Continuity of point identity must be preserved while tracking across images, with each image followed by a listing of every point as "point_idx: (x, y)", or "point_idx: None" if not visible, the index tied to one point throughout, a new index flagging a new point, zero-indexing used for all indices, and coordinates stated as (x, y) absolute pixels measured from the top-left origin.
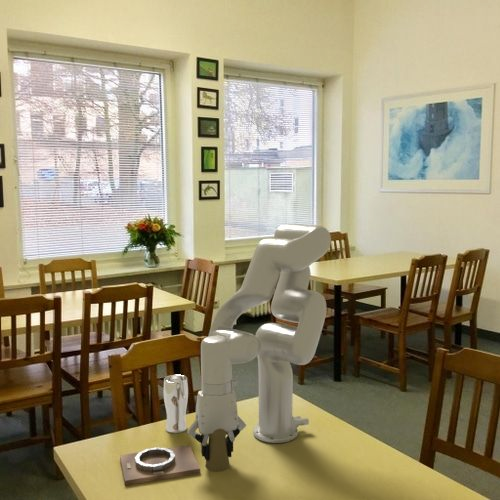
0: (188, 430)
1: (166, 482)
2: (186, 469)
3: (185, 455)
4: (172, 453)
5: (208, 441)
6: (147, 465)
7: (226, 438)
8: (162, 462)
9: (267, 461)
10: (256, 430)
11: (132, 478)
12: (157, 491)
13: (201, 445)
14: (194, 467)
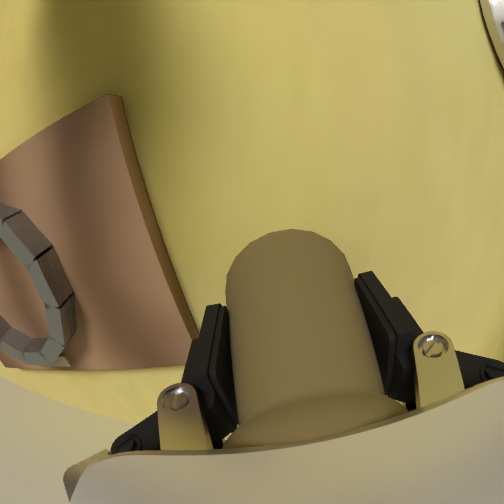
0: (72, 490)
1: (97, 374)
2: (141, 359)
3: (102, 234)
4: (40, 280)
5: (236, 400)
6: (11, 352)
7: (394, 346)
8: (33, 290)
9: (490, 269)
10: (501, 12)
11: (12, 363)
12: (94, 403)
13: (184, 380)
14: (173, 352)
